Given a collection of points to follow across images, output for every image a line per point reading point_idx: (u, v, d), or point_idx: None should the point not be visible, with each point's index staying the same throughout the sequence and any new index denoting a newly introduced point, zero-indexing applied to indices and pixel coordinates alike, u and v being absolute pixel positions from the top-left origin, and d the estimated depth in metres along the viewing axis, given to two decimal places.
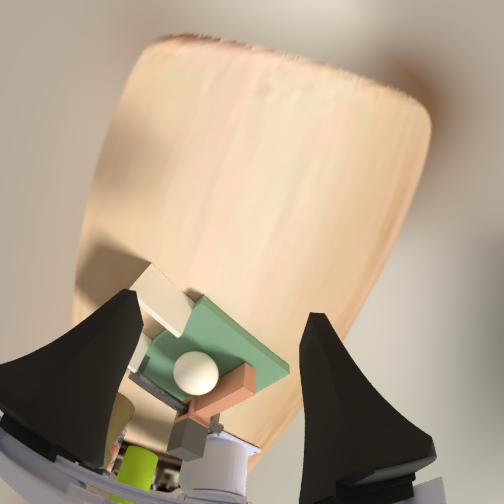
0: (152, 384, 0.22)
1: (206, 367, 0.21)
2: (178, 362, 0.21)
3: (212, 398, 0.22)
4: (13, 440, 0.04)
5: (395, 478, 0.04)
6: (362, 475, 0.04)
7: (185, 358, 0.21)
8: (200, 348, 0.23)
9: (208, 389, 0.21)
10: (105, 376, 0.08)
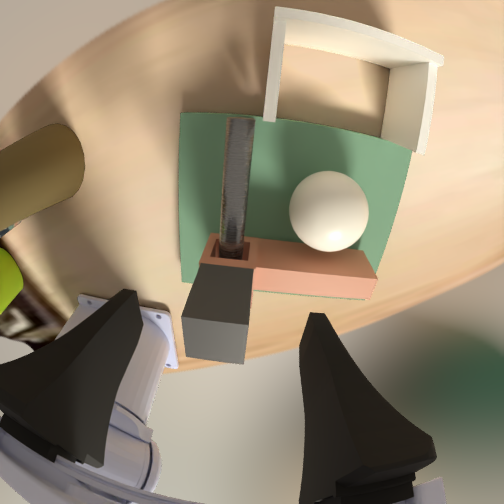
0: (249, 167, 0.11)
1: (368, 216, 0.13)
2: (339, 174, 0.12)
3: (302, 264, 0.14)
4: (12, 441, 0.04)
5: (395, 478, 0.04)
6: (362, 475, 0.04)
7: (352, 179, 0.12)
8: None
9: (342, 248, 0.13)
10: (105, 376, 0.08)
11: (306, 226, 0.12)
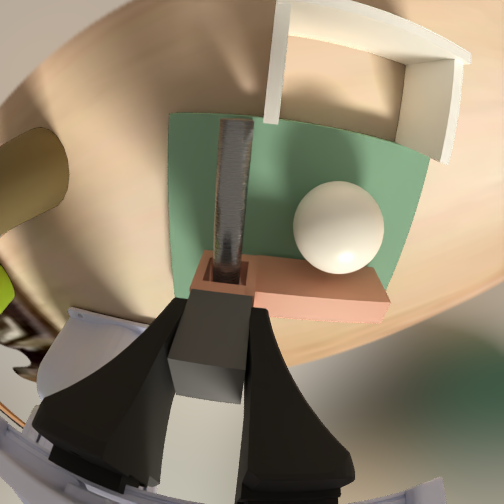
0: None
1: None
2: (351, 186, 0.10)
3: (308, 286, 0.12)
4: (12, 441, 0.04)
5: (314, 491, 0.04)
6: (254, 480, 0.04)
7: (366, 192, 0.10)
8: None
9: (353, 270, 0.11)
10: (164, 392, 0.08)
11: (313, 247, 0.10)
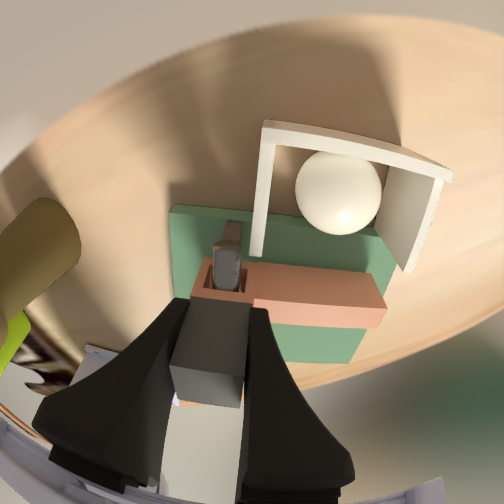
0: (237, 289, 0.12)
1: None
2: (335, 234, 0.12)
3: (305, 293, 0.13)
4: (13, 440, 0.04)
5: (314, 491, 0.04)
6: (253, 481, 0.04)
7: (352, 232, 0.12)
8: None
9: None
10: (164, 392, 0.08)
11: None
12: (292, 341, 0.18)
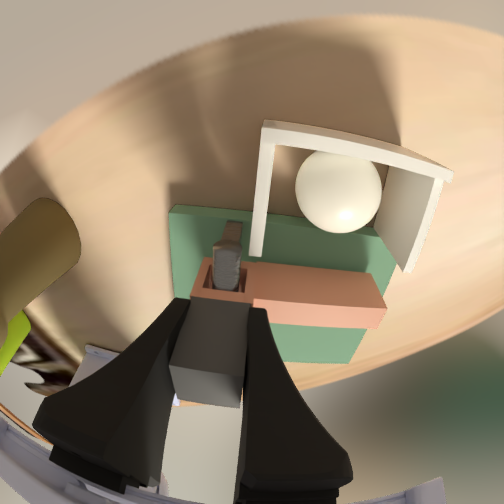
0: (237, 289, 0.12)
1: None
2: (336, 232, 0.12)
3: (305, 293, 0.13)
4: (13, 440, 0.04)
5: (312, 491, 0.04)
6: (251, 480, 0.04)
7: (353, 230, 0.12)
8: None
9: None
10: (165, 392, 0.08)
11: None
12: (292, 341, 0.18)
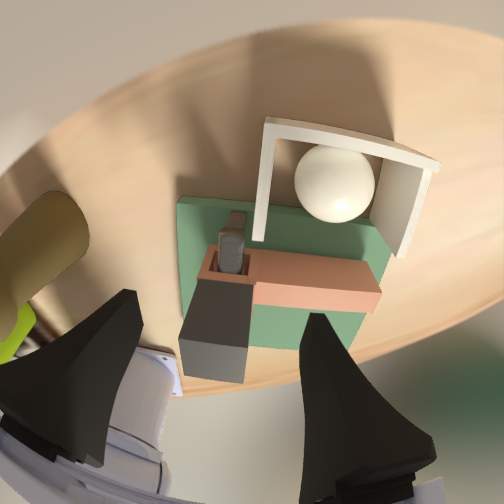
0: (240, 273, 0.13)
1: None
2: (332, 222, 0.13)
3: (304, 277, 0.13)
4: (13, 440, 0.04)
5: (395, 478, 0.04)
6: (362, 475, 0.04)
7: (347, 220, 0.13)
8: None
9: None
10: (105, 376, 0.08)
11: None
12: (292, 328, 0.19)
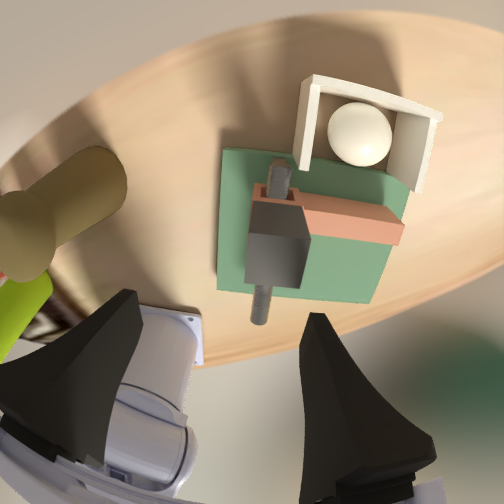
0: None
1: None
2: (359, 165, 0.15)
3: (339, 210, 0.15)
4: (13, 440, 0.04)
5: (395, 478, 0.04)
6: (362, 475, 0.04)
7: (371, 164, 0.14)
8: None
9: None
10: (105, 376, 0.08)
11: None
12: (321, 276, 0.21)
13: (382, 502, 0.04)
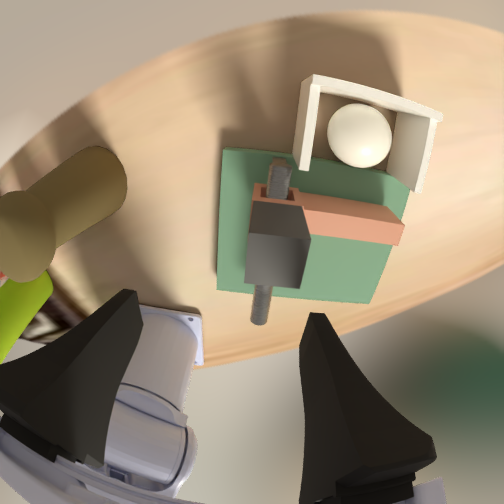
0: None
1: None
2: (358, 166, 0.15)
3: (339, 210, 0.15)
4: (13, 440, 0.04)
5: (395, 478, 0.04)
6: (362, 475, 0.04)
7: None
8: None
9: None
10: (105, 376, 0.08)
11: None
12: (321, 276, 0.21)
13: (382, 502, 0.04)
